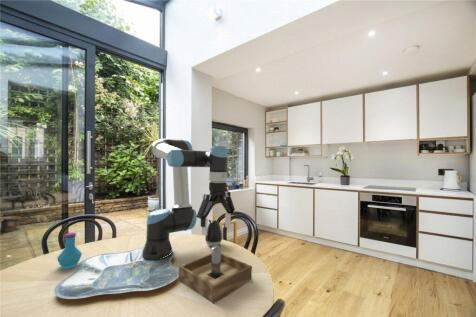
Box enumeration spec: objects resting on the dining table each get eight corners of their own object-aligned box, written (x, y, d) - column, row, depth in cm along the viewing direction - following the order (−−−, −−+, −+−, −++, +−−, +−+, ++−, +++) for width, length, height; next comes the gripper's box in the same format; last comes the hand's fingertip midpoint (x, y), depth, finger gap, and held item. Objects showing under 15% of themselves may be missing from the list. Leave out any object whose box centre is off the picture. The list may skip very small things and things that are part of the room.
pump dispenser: (215, 240, 141) (215, 217, 141) (225, 245, 133) (225, 220, 133) (201, 244, 134) (202, 219, 134) (211, 249, 126) (212, 223, 126)
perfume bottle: (83, 265, 104) (84, 233, 105) (58, 272, 98) (60, 238, 98) (78, 259, 111) (80, 229, 111) (55, 265, 104) (56, 233, 104)
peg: (208, 280, 94) (209, 247, 94) (215, 276, 97) (216, 245, 97) (215, 283, 91) (216, 250, 91) (222, 280, 94) (222, 247, 94)
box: (178, 280, 93) (179, 266, 93) (216, 263, 110) (217, 251, 110) (213, 303, 79) (214, 286, 79) (251, 279, 95) (251, 265, 95)
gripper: (200, 184, 83) (199, 240, 83) (243, 181, 102) (241, 226, 101) (188, 182, 88) (187, 235, 88) (231, 179, 107) (230, 223, 106)
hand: (216, 231), depth 95 cm, fingers open, 13 cm apart
